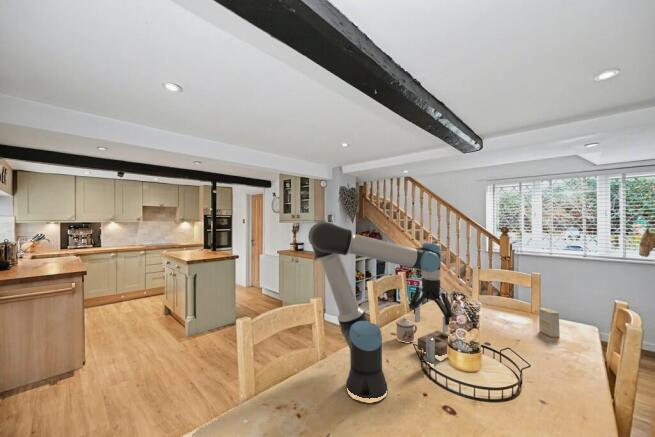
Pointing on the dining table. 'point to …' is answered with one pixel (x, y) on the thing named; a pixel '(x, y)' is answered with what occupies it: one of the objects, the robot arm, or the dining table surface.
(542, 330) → the supplement box
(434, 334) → the bore block
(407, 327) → the teacup with lid
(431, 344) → the pin
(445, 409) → the dining table surface
